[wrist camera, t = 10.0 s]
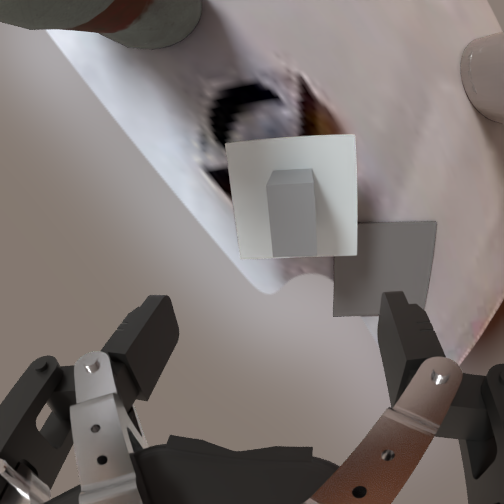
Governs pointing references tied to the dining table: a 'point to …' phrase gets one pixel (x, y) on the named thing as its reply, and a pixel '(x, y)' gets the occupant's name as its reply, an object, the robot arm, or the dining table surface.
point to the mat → (384, 266)
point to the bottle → (109, 18)
